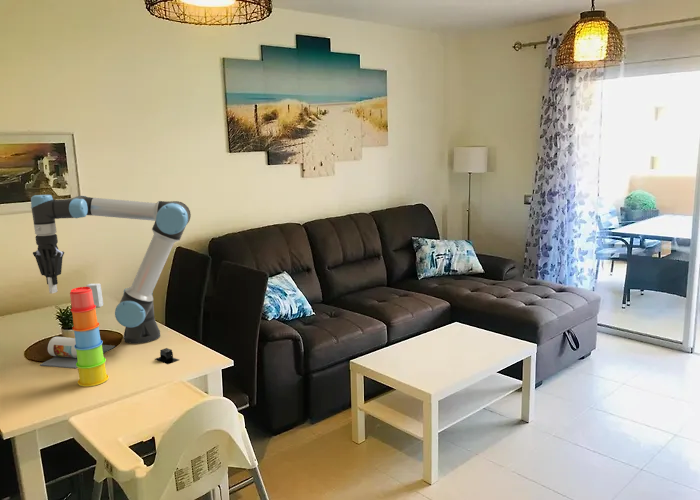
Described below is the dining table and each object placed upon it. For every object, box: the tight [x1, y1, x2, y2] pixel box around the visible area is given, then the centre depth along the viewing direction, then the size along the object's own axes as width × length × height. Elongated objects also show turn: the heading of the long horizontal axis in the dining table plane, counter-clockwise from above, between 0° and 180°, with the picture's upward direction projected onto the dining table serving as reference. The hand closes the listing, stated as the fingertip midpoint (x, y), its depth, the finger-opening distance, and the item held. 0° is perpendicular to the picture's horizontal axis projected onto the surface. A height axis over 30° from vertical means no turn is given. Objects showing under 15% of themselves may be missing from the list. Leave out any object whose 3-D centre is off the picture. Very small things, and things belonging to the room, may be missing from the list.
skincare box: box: [85, 283, 104, 308], centre depth 300 cm, size 6×4×12 cm
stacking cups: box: [69, 286, 110, 388], centre depth 199 cm, size 10×10×35 cm
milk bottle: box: [47, 336, 77, 358], centre depth 224 cm, size 8×8×20 cm
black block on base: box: [154, 347, 180, 365], centre depth 221 cm, size 12×7×5 cm, turn 51°
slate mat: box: [39, 344, 116, 369], centre depth 228 cm, size 16×24×1 cm, turn 166°
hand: (53, 292), depth 225 cm, fingers closed
